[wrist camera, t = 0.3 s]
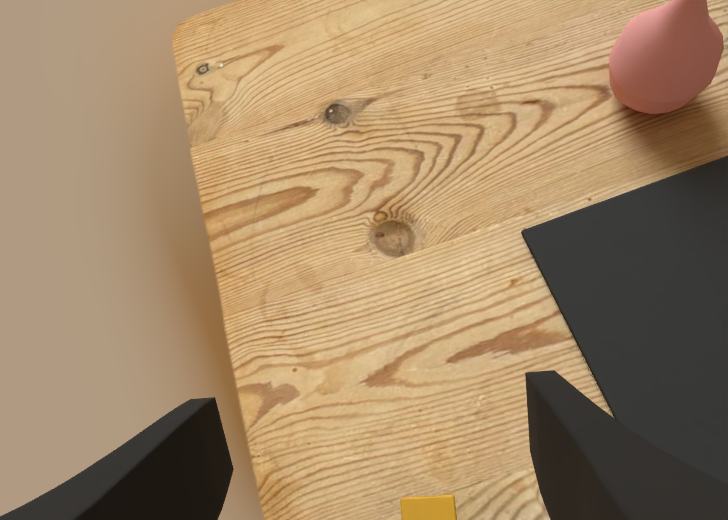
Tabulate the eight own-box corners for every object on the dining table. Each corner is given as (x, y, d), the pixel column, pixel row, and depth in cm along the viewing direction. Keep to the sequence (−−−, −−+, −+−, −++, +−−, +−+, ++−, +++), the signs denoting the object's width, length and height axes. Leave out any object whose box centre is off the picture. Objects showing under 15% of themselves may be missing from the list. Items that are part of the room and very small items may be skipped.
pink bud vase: (599, 54, 47) (642, -75, 36) (695, 56, 46) (770, -79, 35) (597, 127, 44) (643, 11, 34) (699, 133, 43) (782, 12, 32)
